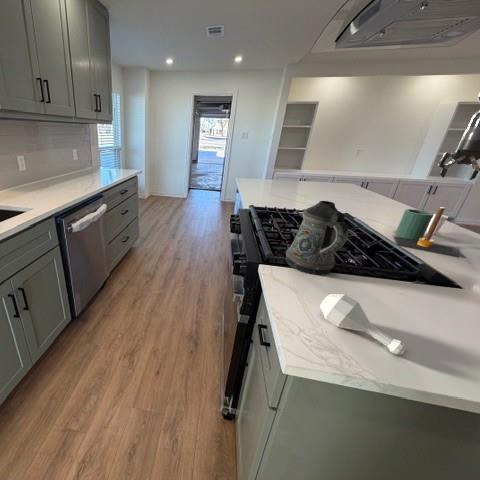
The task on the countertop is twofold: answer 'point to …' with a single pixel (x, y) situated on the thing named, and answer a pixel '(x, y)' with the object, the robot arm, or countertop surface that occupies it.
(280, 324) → the countertop surface
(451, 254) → the drying mat
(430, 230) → the brush
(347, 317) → the chicken leg
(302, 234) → the beer stein
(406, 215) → the jar
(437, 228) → the smoothie
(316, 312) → the countertop surface
